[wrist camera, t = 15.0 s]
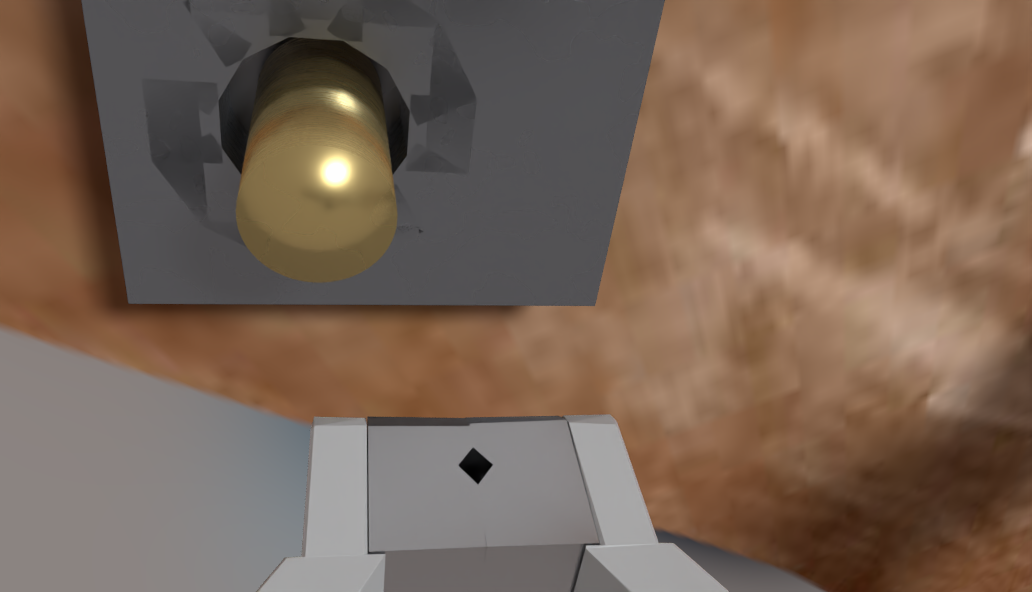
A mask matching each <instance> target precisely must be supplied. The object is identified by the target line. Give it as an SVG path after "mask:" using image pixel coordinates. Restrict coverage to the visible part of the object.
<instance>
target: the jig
mask: <svg viewBox="0 0 1032 592" xmlns="http://www.w3.org/2000/svg"><path fill="white" fill-rule="evenodd" d="M664 1H665V0H81V2H82V8H83V14H84V21H85V27H86V34H87V40H88V46H89V53H90V59H91V66H92V72H93V79H94V85H95V91H96V98H97V104H98V111H99V117H100V124H101V130H102V136H103V143H104V149H105V156H106V162H107V169H108V175H109V181H110V188H111V194H112V201H113V207H114V214H115V220H116V226H117V233H118V239H119V246H120V252H121V258H122V265H123V271H124V278H125V284H126V291H127V297H128V303H129V304H307V305H524V306H595V303H596V299H597V295H598V290H599V286H600V281H601V277H602V273H603V268H604V264H605V260H606V255H607V251H608V246H609V242H610V238H611V233H612V229H613V225H614V220H615V216H616V211H617V207H618V203H619V198H620V194H621V190H622V185H623V181H624V176H625V172H626V168H627V163H628V159H629V155H630V150H631V146H632V141H633V137H634V133H635V128H636V124H637V120H638V115H639V111H640V106H641V102H642V98H643V93H644V89H645V85H646V80H647V76H648V71H649V67H650V63H651V58H652V54H653V50H654V45H655V41H656V36H657V32H658V28H659V23H660V19H661V15H662V10H663V6H664ZM295 38H312V39H326V40H340V41H344V42H346V43H347V44H349V45H351V46H352V47H354V48H355V49H357V50H358V51H360V52H362V53H363V54H364V55H365V56H366V57H367V58H368V59H369V61H370V62H371V63H372V65H373V66H374V68H375V70H376V72H377V74H378V77H379V79H380V83H381V88H382V96H383V103H384V111H385V119H386V127H387V135H388V143H389V150H390V158H391V166H392V174H393V182H394V189H395V197H396V205H397V215H398V216H397V226H396V231H395V234H394V237H393V240H392V242H391V244H390V246H389V247H388V249H387V250H386V252H385V253H384V254H383V256H382V257H381V258H380V259H379V260H378V261H377V262H376V263H374V264H373V265H372V266H371V267H369V268H368V269H366V270H364V271H363V272H361V273H359V274H357V275H355V276H352V277H350V278H346V279H343V280H339V281H334V282H324V283H313V282H304V281H299V280H295V279H291V278H288V277H285V276H283V275H281V274H279V273H276V272H274V271H273V270H271V269H270V268H268V267H266V266H265V265H264V264H262V263H261V262H260V261H259V260H258V259H257V258H256V257H255V256H254V255H253V254H252V253H251V252H250V251H249V249H248V248H247V247H246V245H245V243H244V241H243V240H242V238H241V235H240V233H239V230H238V226H237V221H236V203H237V197H238V191H239V185H240V180H241V174H242V168H243V163H244V157H245V152H246V146H247V140H248V135H249V129H250V123H251V118H252V112H253V106H254V101H255V95H256V89H257V84H258V79H259V75H260V71H261V69H262V67H263V65H264V63H265V61H266V60H267V58H268V57H269V56H270V55H271V53H272V52H273V51H275V50H276V49H277V48H278V47H279V46H281V45H282V44H284V43H285V42H288V41H290V40H292V39H295Z"/></svg>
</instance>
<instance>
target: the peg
mask: <svg viewBox="0 0 1032 592" xmlns="http://www.w3.org/2000/svg"><path fill="white" fill-rule="evenodd" d="M397 216H398V215H397V205H396V197H395V189H394V182H393V174H392V166H391V158H390V150H389V143H388V135H387V127H386V119H385V111H384V103H383V96H382V88H381V83H380V79H379V77H378V74H377V72H376V70H375V68H374V66H373V65H372V63H371V62H370V61H369V59H368V58H367V57H366V56H365V55H364V54H363V53H362V52H360V51H358V50H357V49H355V48H354V47H352V46H351V45H349V44H347V43H346V42H344V41H340V40H326V39H312V38H295V39H292V40H290V41H288V42H285V43H284V44H282V45H281V46H279V47H278V48H277V49H276V50H275V51H273V52H272V53H271V55H270V56H269V57H268V58H267V60H266V61H265V63H264V65H263V67H262V69H261V71H260V75H259V79H258V84H257V89H256V95H255V101H254V106H253V112H252V118H251V123H250V129H249V135H248V140H247V146H246V152H245V157H244V163H243V168H242V174H241V180H240V185H239V191H238V197H237V203H236V221H237V226H238V230H239V233H240V235H241V238H242V240H243V241H244V243H245V245H246V247H247V248H248V249H249V251H250V252H251V253H252V254H253V255H254V256H255V257H256V258H257V259H258V260H259V261H260V262H261V263H262V264H264V265H265V266H266V267H268V268H270V269H271V270H273V271H274V272H276V273H279V274H281V275H283V276H285V277H288V278H291V279H295V280H299V281H304V282H313V283H324V282H334V281H339V280H343V279H346V278H350V277H352V276H355V275H357V274H359V273H361V272H363V271H364V270H366V269H368V268H369V267H371V266H372V265H373V264H374V263H376V262H377V261H378V260H379V259H380V258H381V257H382V256H383V254H384V253H385V252H386V250H387V249H388V247H389V246H390V244H391V242H392V240H393V237H394V234H395V231H396V226H397Z"/></svg>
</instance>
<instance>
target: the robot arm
mask: <svg viewBox="0 0 1032 592" xmlns="http://www.w3.org/2000/svg"><path fill="white" fill-rule="evenodd" d="M256 592H729V591H728V590H727V589H726V588H725V587H723V586H722V585H721V584H720V583H719V582H718V581H717V580H715V579H714V578H713V577H712V576H711V575H710V574H708V573H707V572H706V571H705V570H704V569H702V567H700V566H699V565H698V564H697V563H696V562H695V561H694V560H692V559H691V558H690V557H689V556H688V555H687V554H685V553H684V552H683V551H682V550H681V549H680V548H678V547H677V546H676V545H675V544H674V543H658V540H657V537H656V534H655V531H654V528H653V525H652V522H651V520H650V517H649V514H648V511H647V508H646V505H645V502H644V499H643V496H642V493H641V490H640V488H639V485H638V482H637V479H636V476H635V473H634V470H633V467H632V464H631V461H630V458H629V456H628V453H627V450H626V447H625V444H624V441H623V438H622V435H621V432H620V429H619V426H618V423H617V421H616V420H615V419H614V418H613V417H612V416H611V415H570V416H562V417H560V416H529V417H473V418H420V417H368V419H367V423H366V418H343V417H314V420H313V423H312V427H311V433H310V447H309V461H308V474H307V488H306V502H305V516H304V529H303V543H302V556H301V557H288V558H284V559H283V560H282V562H281V563H280V564H279V565H278V566H277V567H276V569H275V570H274V571H273V572H272V573H271V575H270V576H269V577H268V578H267V579H266V580H265V582H264V583H263V584H262V585H261V586H260V588H259V589H258V590H257V591H256Z"/></svg>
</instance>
